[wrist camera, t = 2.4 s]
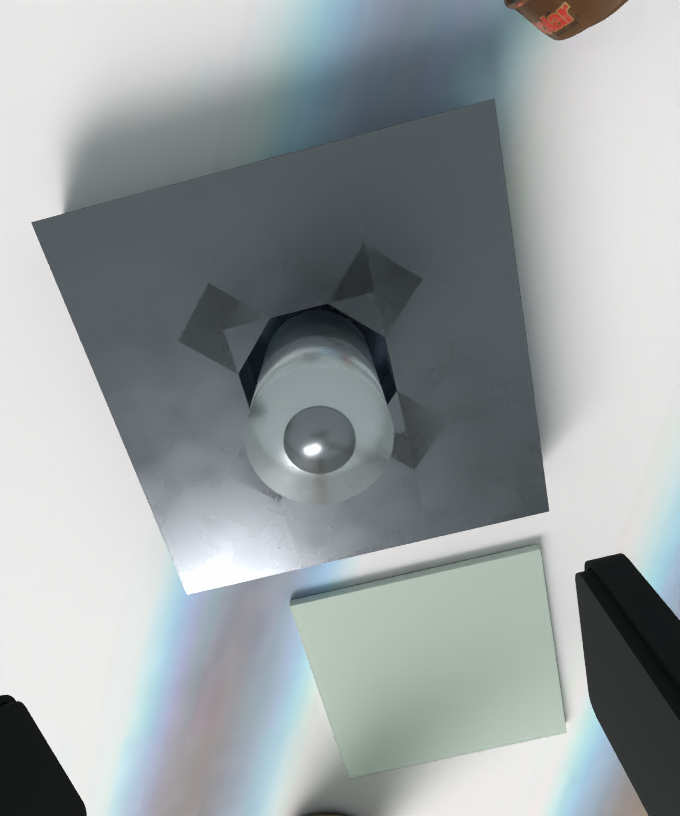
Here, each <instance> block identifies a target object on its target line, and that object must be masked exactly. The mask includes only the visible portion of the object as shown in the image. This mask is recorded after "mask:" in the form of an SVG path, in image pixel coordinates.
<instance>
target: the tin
mask: <svg viewBox="0 0 680 816" xmlns="http://www.w3.org/2000/svg"><path fill="white" fill-rule="evenodd" d="M627 1H628V0H505V1H504V2H505V5H506V6H507V7H508V8H510V9H515V10H517V11H518V12H519V13H520V14H522V15H523V16H524V17H525V18H526V19H528V20H529V21H530V22H531V23H532V24H533V25H535V26H536V27H537V28H538V29H539V30H540V31H542V32H543V33H544V34H546V35H547V36H549V37H551V38H552V39H554V40H564V39H567V38H570V37H572V36H574V35H576V34H578V33H580V32H582V31H583V30H585V29H587V28H589V27H591V26H593V25H595V24H597V23H599V22H601V21H603V20H604V19H606V18H607V17H609V16H610V15H611V14H613V13H614V12H616V11H617V10H618V9H619V8H620V7H621V6H622V5H624V4H625V3H626V2H627Z"/></svg>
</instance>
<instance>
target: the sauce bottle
mask: <svg viewBox="0 0 680 816" xmlns="http://www.w3.org/2000/svg"><path fill="white" fill-rule="evenodd" d="M314 816H344V815H334V814H328V815H314Z"/></svg>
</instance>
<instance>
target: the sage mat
mask: <svg viewBox="0 0 680 816" xmlns="http://www.w3.org/2000/svg"><path fill="white" fill-rule="evenodd" d="M290 609H291V612H292V615H293V617H294V620H295V623H296V626H297V629H298V632H299V635H300V638H301V641H302V644H303V647H304V650H305V652H306V655H307V658H308V661H309V664H310V667H311V670H312V673H313V676H314V679H315V682H316V684H317V687H318V690H319V693H320V696H321V699H322V702H323V705H324V708H325V711H326V714H327V717H328V719H329V722H330V725H331V728H332V731H333V734H334V737H335V740H336V743H337V746H338V749H339V751H340V754H341V757H342V760H343V763H344V766H345V769H346V772H347V775H348V778H349V779H350V778H355V777H360V776H365V775H369V774H374V773H379V772H384V771H388V770H393V769H398V768H403V767H407V766H412V765H417V764H421V763H426V762H431V761H436V760H440V759H445V758H450V757H455V756H459V755H464V754H469V753H473V752H478V751H483V750H488V749H492V748H497V747H502V746H507V745H511V744H516V743H521V742H525V741H530V740H535V739H540V738H544V737H549V736H554V735H559V734H563V733H567V732H566V725H565V718H564V711H563V704H562V697H561V690H560V683H559V676H558V669H557V662H556V655H555V648H554V641H553V634H552V627H551V620H550V613H549V606H548V599H547V592H546V585H545V578H544V572H543V565H542V558H541V551H540V548H539V546H538V545H537V544H535V545H531V546H526V547H522V548H518V549H513V550H509V551H504V552H500V553H496V554H491V555H487V556H483V557H478V558H474V559H469V560H465V561H461V562H456V563H452V564H447V565H443V566H439V567H434V568H430V569H426V570H421V571H417V572H412V573H408V574H404V575H399V576H395V577H390V578H386V579H382V580H377V581H373V582H369V583H364V584H360V585H355V586H351V587H347V588H342V589H338V590H333V591H329V592H325V593H320V594H316V595H312V596H307V597H303V598H298V599H294V600H290Z"/></svg>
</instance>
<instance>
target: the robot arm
mask: <svg viewBox="0 0 680 816" xmlns="http://www.w3.org/2000/svg"><path fill="white" fill-rule="evenodd" d="M575 581H576V590H577V598H578V607H579V615H580V624H581V632H582V641H583V649H584V658H585V666H586V675H587V684H588V692H589V697H590V701H591V704H592V707H593V710H594V712H595V715H596V717H597V719H598V721H599V723H600V725H601V727H602V728H603V730H604V732H605V734H606V736H607V738H608V740H609V742H610V744H611V745H612V747H613V749H614V751H615V753H616V755H617V757H618V759H619V761H620V762H621V764H622V766H623V768H624V770H625V772H626V774H627V776H628V778H629V779H630V781H631V783H632V785H633V787H634V789H635V791H636V793H637V794H638V796H639V798H640V800H641V802H642V804H643V806H644V808H645V810H646V811H647V813H648V815H649V816H680V620H679V619H678V618H677V617H676V615H675V614H674V613H673V612H672V611H671V609H670V608H669V607H668V606H667V605H666V603H665V602H664V601H663V600H662V599H661V597H660V596H659V595H658V594H657V593H656V591H655V590H654V589H653V588H652V587H651V585H650V584H649V583H648V582H647V581H646V579H645V578H644V577H643V576H642V575H641V573H640V572H639V571H638V570H637V569H636V567H635V566H634V565H633V564H632V563H631V561H630V560H629V559H628V558H627V557H626V556H625V555H624V554H621V553H619V554H615V555H611V556H606V557H602V558H598V559H593V560H589V561H586V562H585V571H584V572H579V573H576V575H575ZM0 816H87V813H86V807H85V805H84V803H83V801H82V799H81V798H80V796H79V794H78V793H77V791H76V789H75V788H74V786H73V784H72V783H71V781H70V779H69V778H68V776H67V774H66V773H65V771H64V770H63V768H62V766H61V765H60V763H59V761H58V760H57V758H56V756H55V755H54V753H53V751H52V750H51V748H50V746H49V745H48V743H47V741H46V740H45V738H44V736H43V735H42V733H41V731H40V730H39V728H38V727H37V725H36V723H35V722H34V720H33V718H32V717H31V715H30V713H29V712H28V710H27V708H26V707H25V705H24V704H23V703H22V702H19V701H17V702H16V700H15V699H14V698H13V697H12V696H9V695H1V696H0Z"/></svg>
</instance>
